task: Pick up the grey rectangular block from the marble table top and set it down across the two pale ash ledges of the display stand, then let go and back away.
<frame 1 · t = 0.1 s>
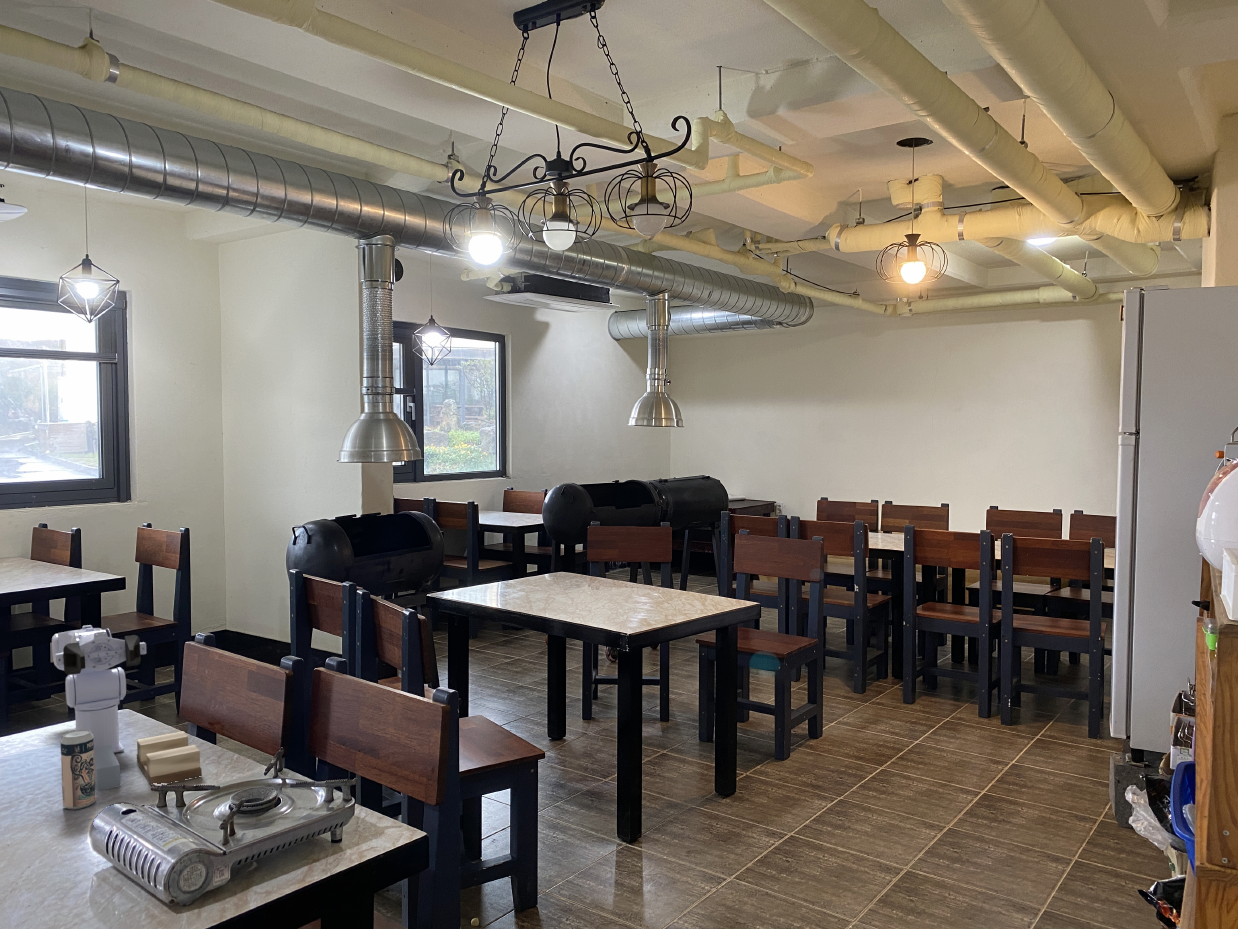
hand: (107, 658, 164), 22 cm above the table, tool horizontal, fingers open, 7 cm apart
tea canister: (79, 806, 153), on the table
display stand: (168, 769, 169), on the table
grey rectangular block: (104, 779, 166), on the table
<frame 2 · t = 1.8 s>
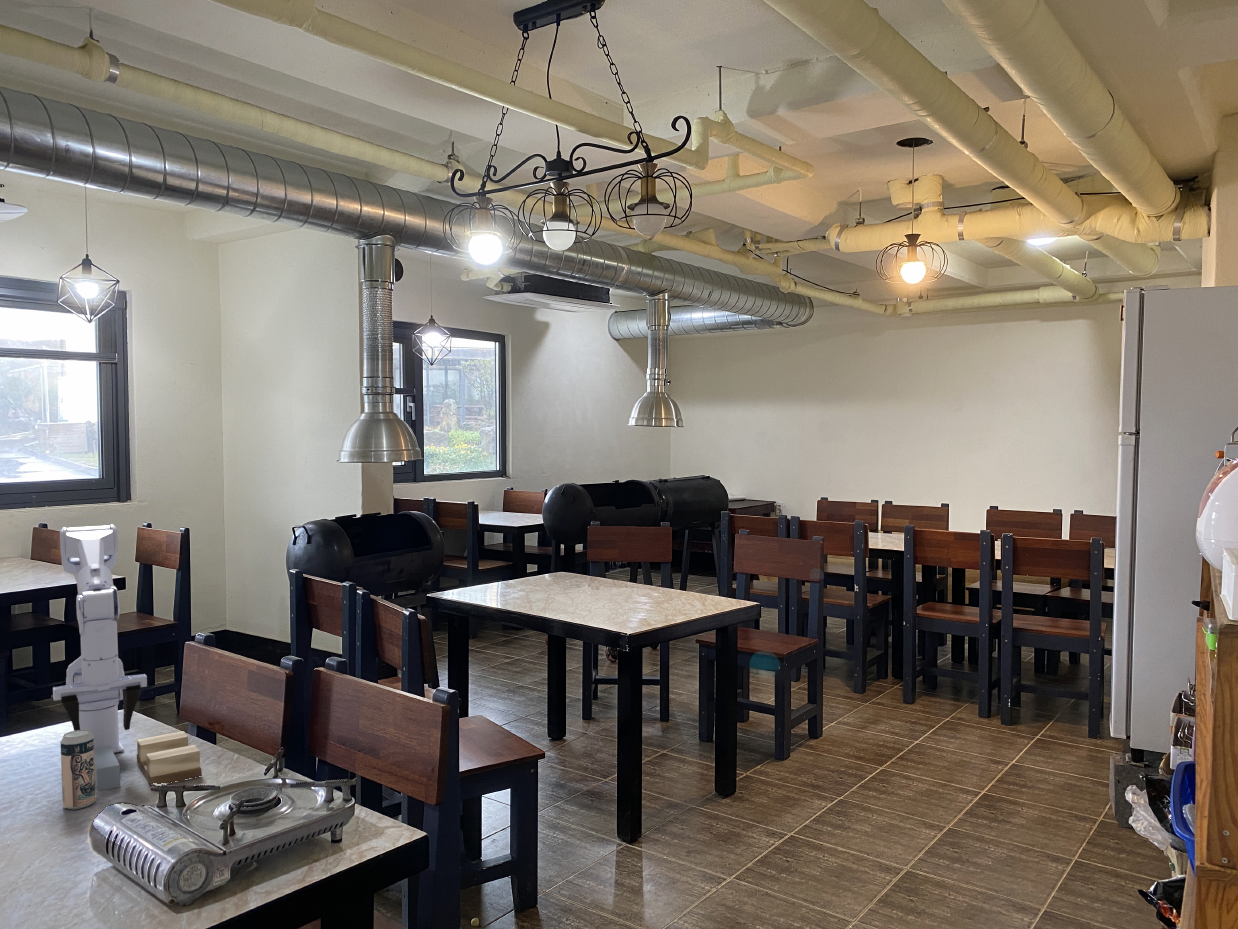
hand: (102, 732, 166), 8 cm above the table, tool pointing down, fingers open, 7 cm apart
nothing on the table moved.
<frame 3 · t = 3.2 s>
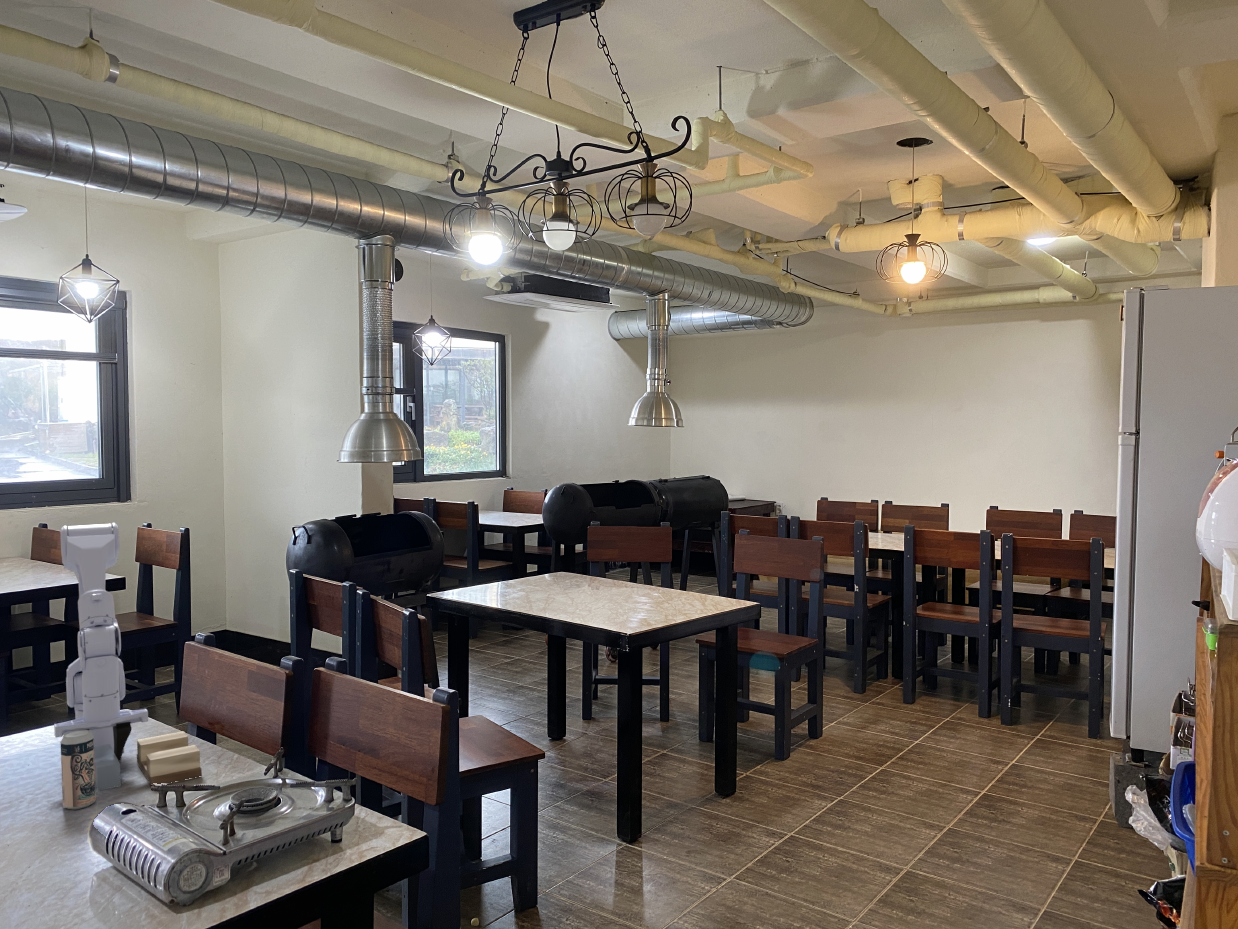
hand: (103, 768, 166), 2 cm above the table, tool pointing down, fingers closed on grey rectangular block, 3 cm apart
grey rectangular block: (104, 777, 166), on the table, touching gripper
everything else where it was.
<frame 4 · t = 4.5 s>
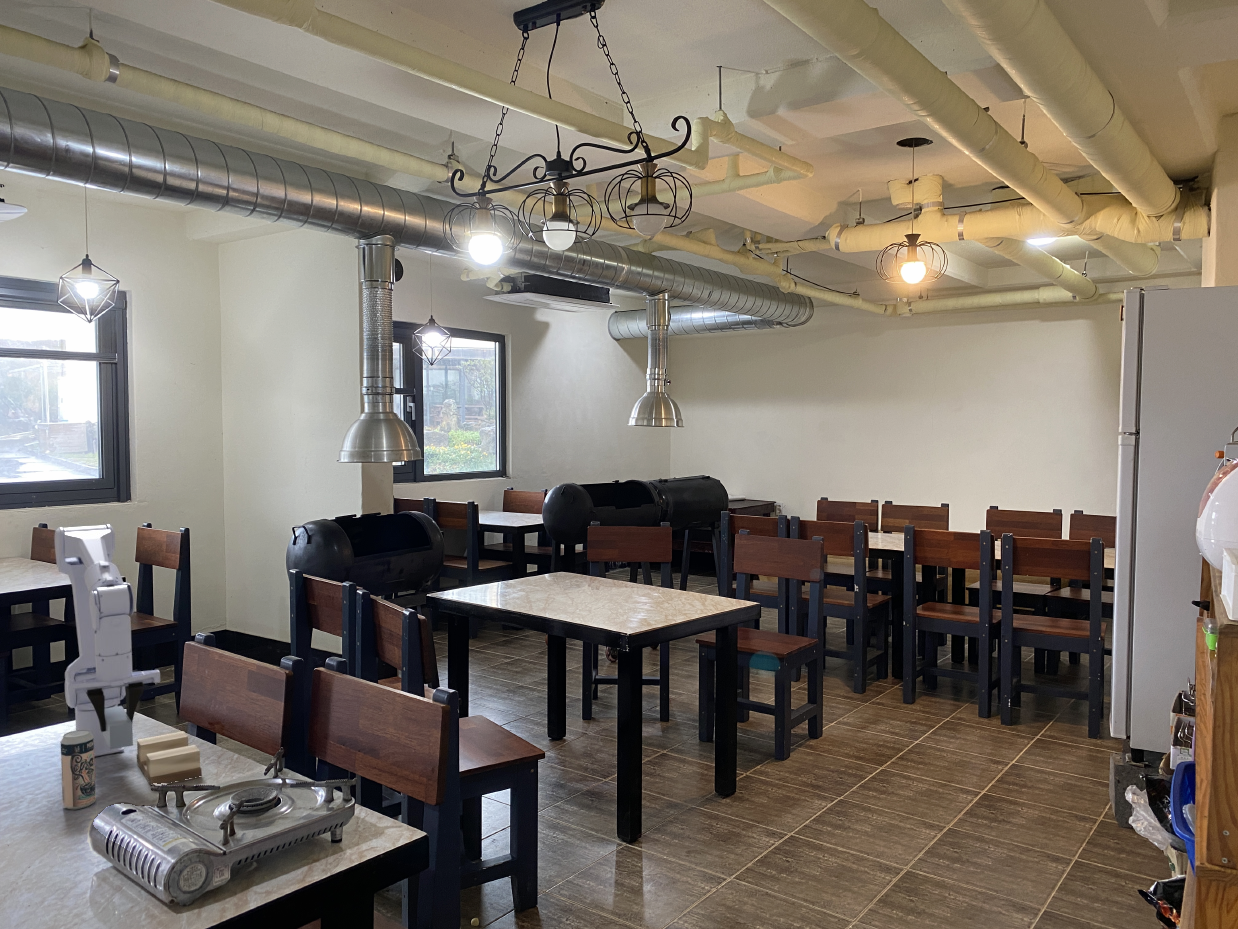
hand: (116, 728, 166), 9 cm above the table, tool pointing down, fingers closed on grey rectangular block, 3 cm apart
grey rectangular block: (116, 738, 166), point 7 cm above the table, touching gripper
everything else where it was.
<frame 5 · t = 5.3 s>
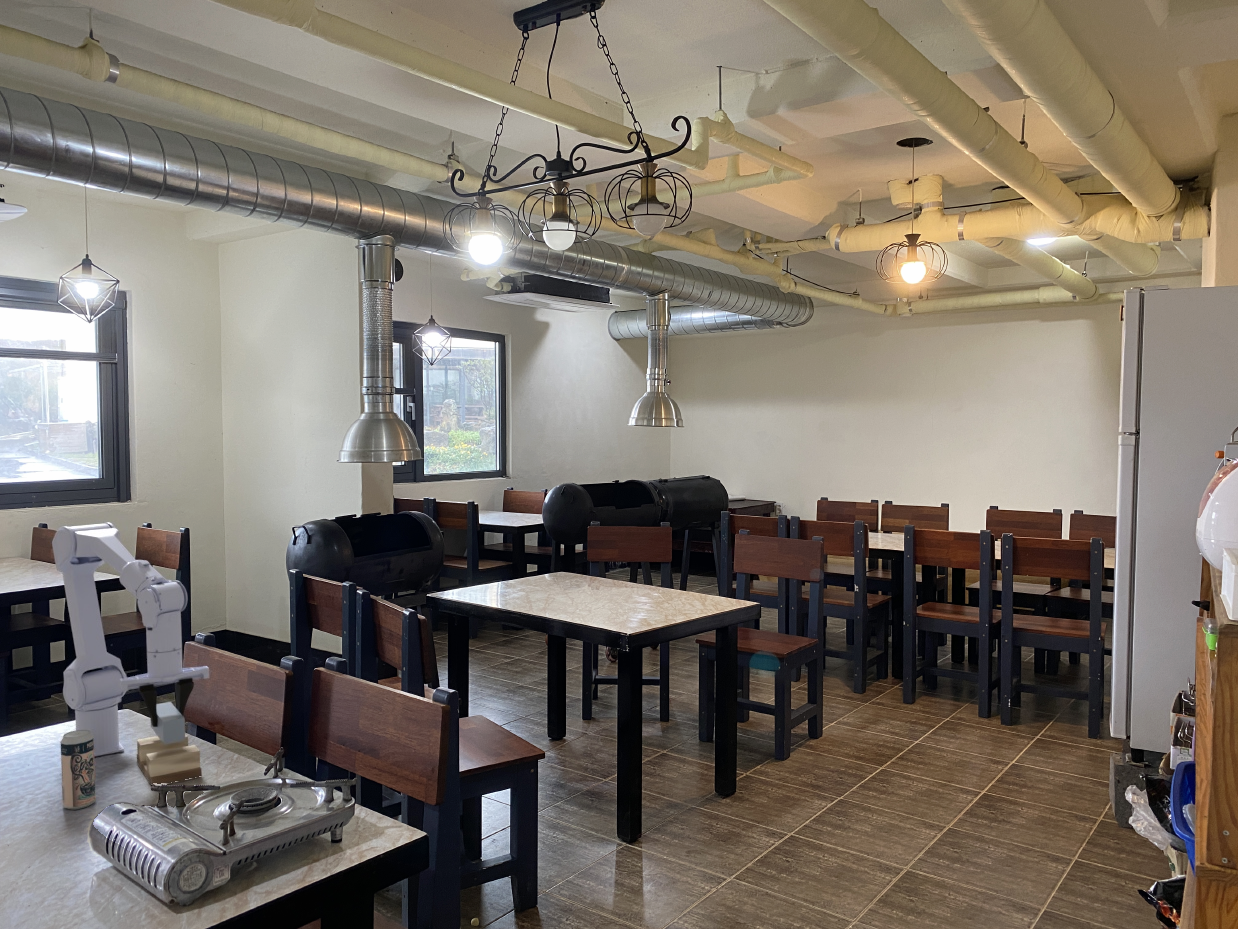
hand: (167, 723, 169), 9 cm above the table, tool pointing down, fingers closed on grey rectangular block, 3 cm apart
grey rectangular block: (167, 733, 169), point 7 cm above the table, touching gripper
everything else where it was.
when the fingers open (7 cm above the table, at t = 5.8 s): grey rectangular block drops 1 cm, resting on display stand.
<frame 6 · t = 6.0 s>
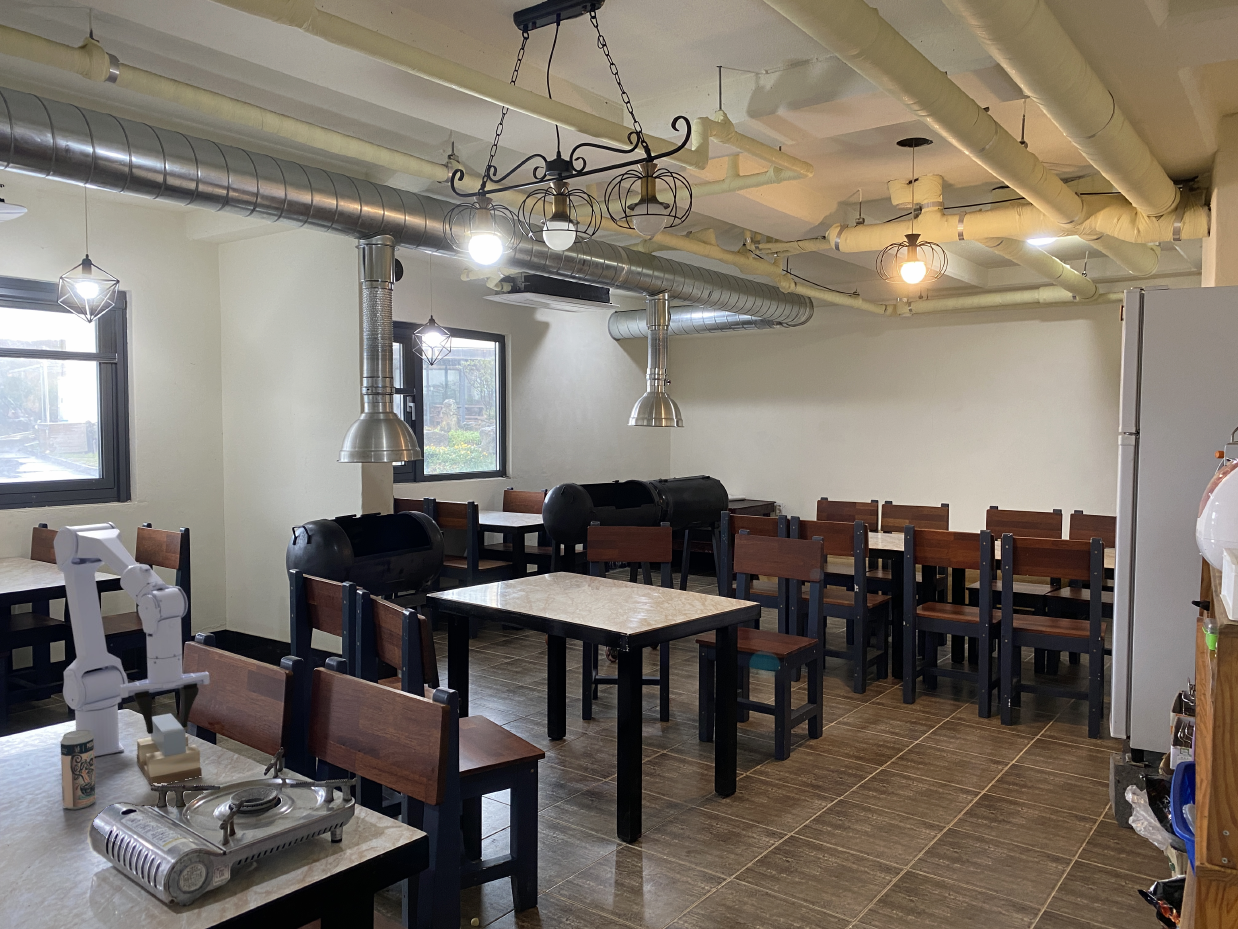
hand: (167, 729, 169), 7 cm above the table, tool pointing down, fingers open, 5 cm apart
grey rectangular block: (168, 745, 169), point 4 cm above the table, touching display stand
everything else where it was.
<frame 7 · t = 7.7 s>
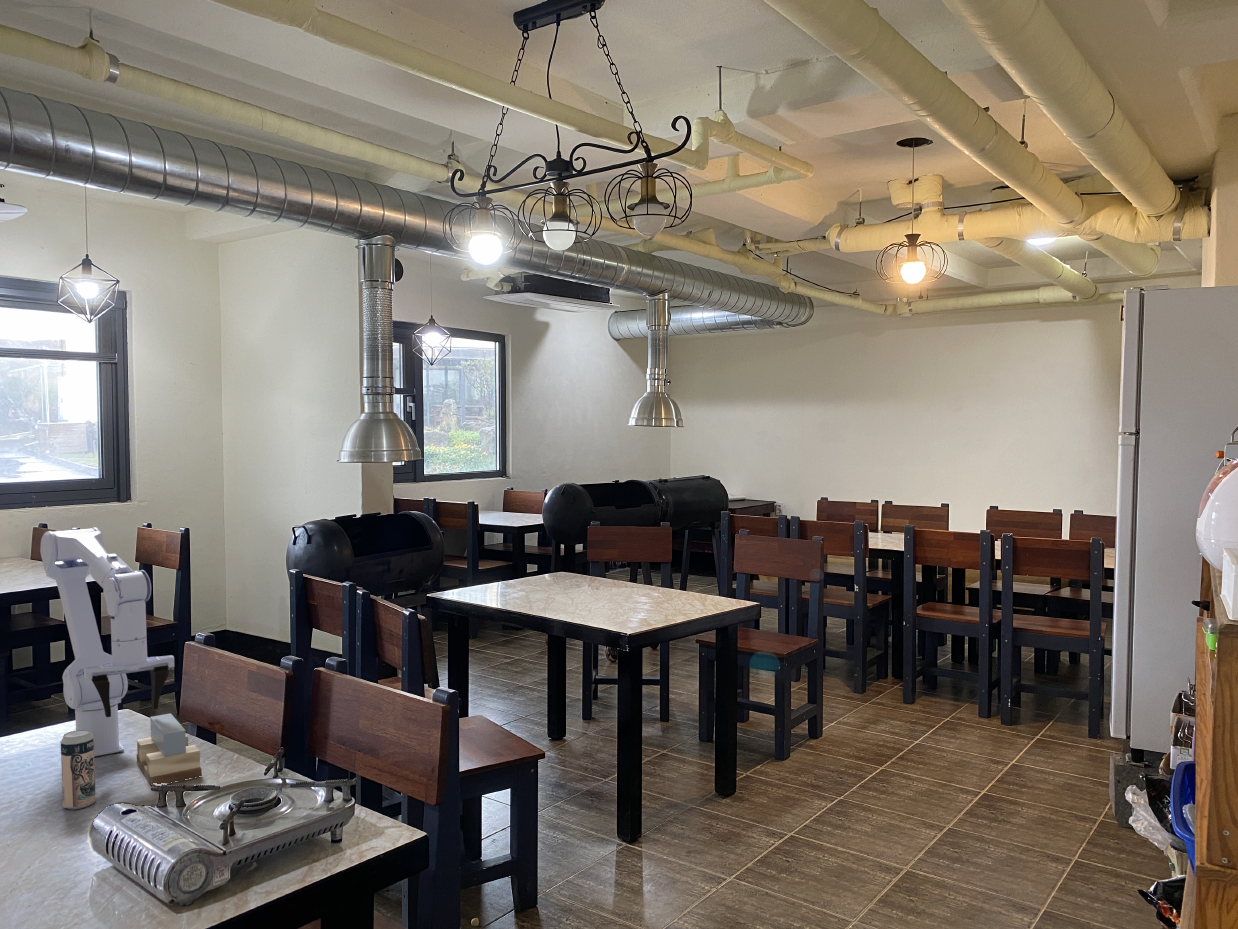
hand: (131, 711, 170), 10 cm above the table, tool pointing down, fingers open, 7 cm apart
nothing on the table moved.
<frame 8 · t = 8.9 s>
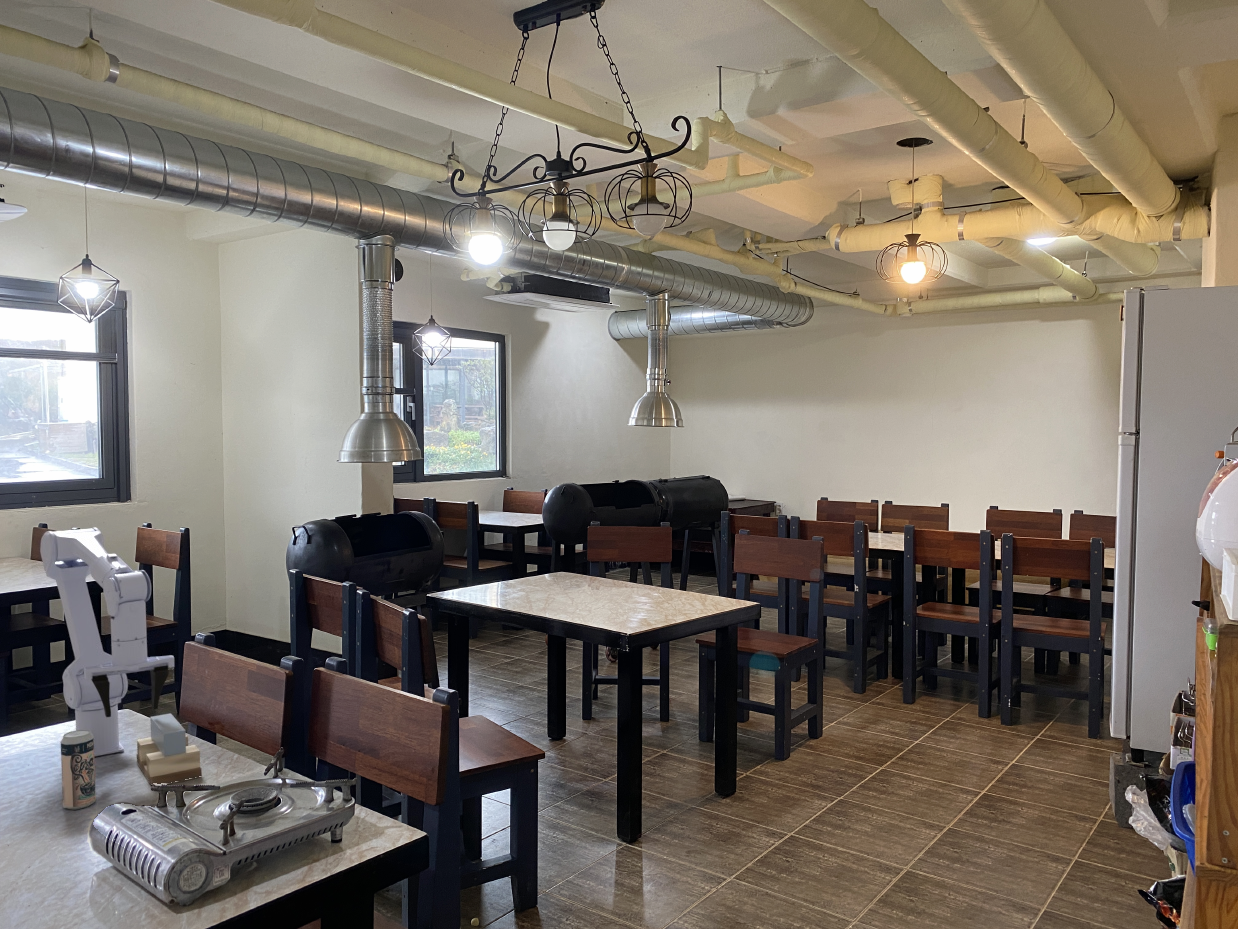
hand: (131, 711, 170), 10 cm above the table, tool pointing down, fingers open, 7 cm apart
nothing on the table moved.
at the end: grey rectangular block 0.1 cm off-centre on the display stand, point 4.5 cm above the display stand's base; grey rectangular block tilted 0°; the gripper is holding nothing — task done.
